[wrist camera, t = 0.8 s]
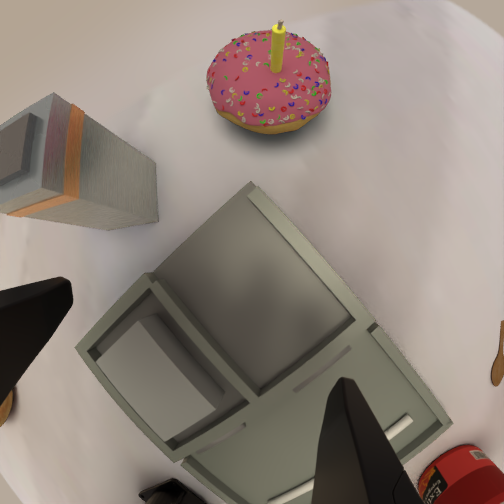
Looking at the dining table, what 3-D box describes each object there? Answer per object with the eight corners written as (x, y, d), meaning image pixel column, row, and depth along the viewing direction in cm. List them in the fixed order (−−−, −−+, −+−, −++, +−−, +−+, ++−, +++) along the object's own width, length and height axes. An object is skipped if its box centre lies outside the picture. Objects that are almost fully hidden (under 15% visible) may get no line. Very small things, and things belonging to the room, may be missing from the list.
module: (159, 222, 23) (32, 186, 10) (107, 231, 24) (-22, 210, 10) (156, 162, 23) (47, 86, 10) (106, 175, 24) (-10, 123, 11)
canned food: (415, 463, 20) (455, 535, 9) (482, 429, 19) (537, 482, 8) (415, 505, 19) (443, 569, 8) (476, 475, 18) (516, 527, 7)
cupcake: (346, 121, 22) (383, 20, 10) (257, 175, 22) (225, 93, 10) (284, 53, 22) (276, -51, 10) (202, 99, 23) (147, 5, 11)
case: (274, 521, 21) (271, 547, 17) (90, 341, 24) (63, 351, 20) (444, 413, 20) (463, 433, 16) (252, 184, 22) (244, 168, 18)
